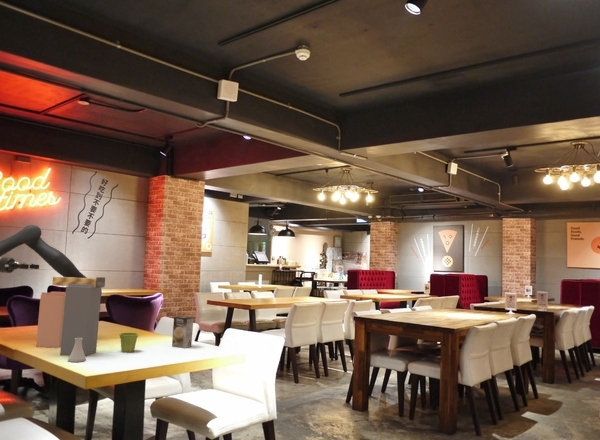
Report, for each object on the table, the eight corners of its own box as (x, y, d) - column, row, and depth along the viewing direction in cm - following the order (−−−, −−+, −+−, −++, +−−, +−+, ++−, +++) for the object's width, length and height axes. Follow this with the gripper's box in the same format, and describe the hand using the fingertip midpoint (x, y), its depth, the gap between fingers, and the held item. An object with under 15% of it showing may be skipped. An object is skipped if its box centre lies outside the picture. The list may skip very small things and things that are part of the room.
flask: (78, 363, 213) (80, 339, 214) (64, 361, 215) (66, 338, 215) (89, 360, 220) (90, 337, 221) (74, 358, 222) (76, 336, 223)
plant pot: (135, 353, 241) (137, 335, 242) (116, 352, 240) (117, 335, 240) (138, 349, 250) (140, 332, 251) (119, 349, 249) (121, 332, 250)
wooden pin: (51, 285, 235) (52, 275, 235) (57, 284, 240) (58, 275, 241) (99, 287, 233) (100, 277, 234) (104, 287, 238) (105, 277, 239)
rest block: (36, 346, 247) (41, 292, 250) (47, 343, 257) (52, 291, 260) (58, 347, 246) (63, 293, 249) (69, 344, 256) (73, 292, 259)
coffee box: (171, 346, 264) (173, 316, 265) (178, 345, 270) (180, 315, 271) (184, 348, 260) (186, 318, 262) (192, 346, 266) (194, 317, 267)
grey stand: (60, 355, 228) (66, 283, 232) (72, 351, 239) (78, 283, 242) (84, 356, 228) (90, 285, 231) (96, 352, 238) (101, 284, 242)
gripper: (-7, 257, 234) (25, 258, 233) (12, 257, 249) (42, 259, 248) (-9, 272, 234) (23, 274, 233) (10, 272, 248) (41, 274, 247)
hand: (33, 266), depth 240 cm, fingers open, 8 cm apart
